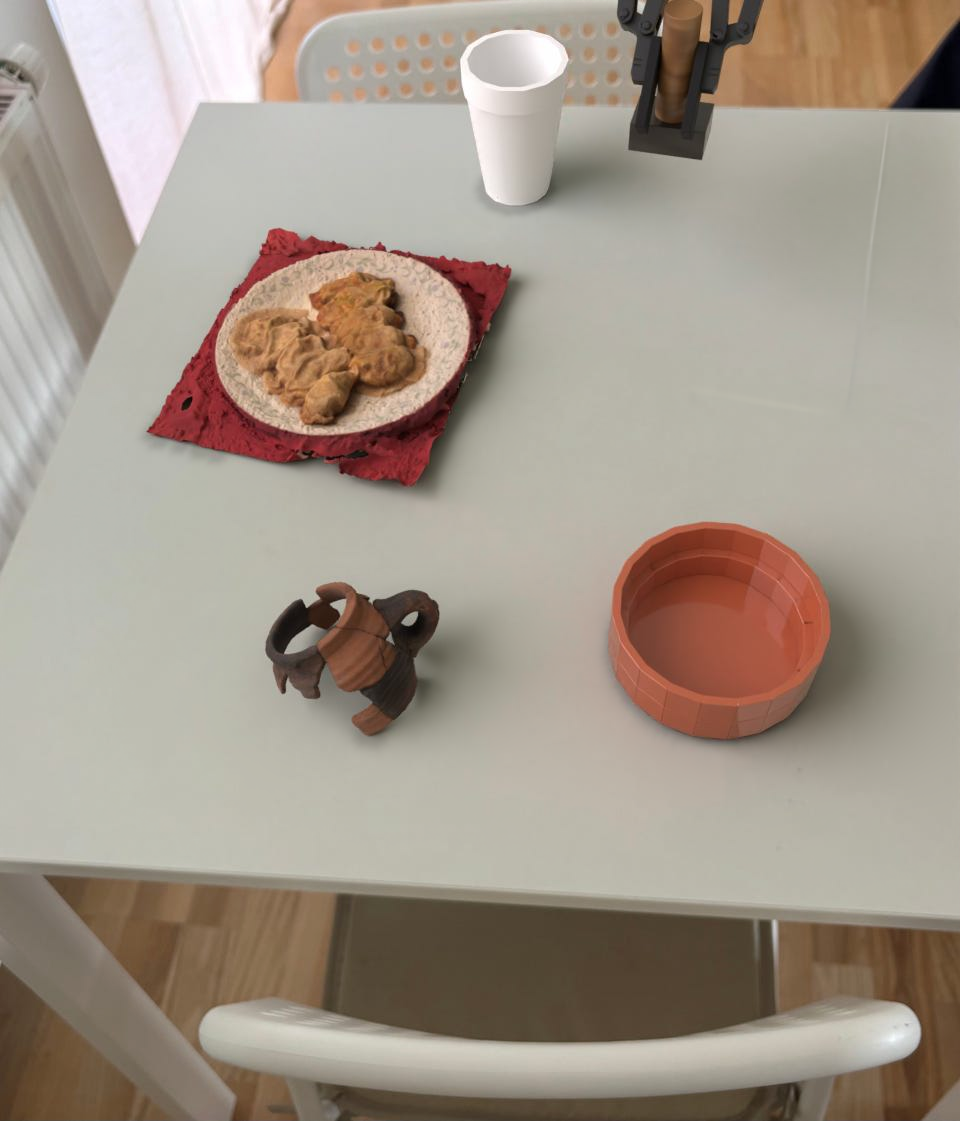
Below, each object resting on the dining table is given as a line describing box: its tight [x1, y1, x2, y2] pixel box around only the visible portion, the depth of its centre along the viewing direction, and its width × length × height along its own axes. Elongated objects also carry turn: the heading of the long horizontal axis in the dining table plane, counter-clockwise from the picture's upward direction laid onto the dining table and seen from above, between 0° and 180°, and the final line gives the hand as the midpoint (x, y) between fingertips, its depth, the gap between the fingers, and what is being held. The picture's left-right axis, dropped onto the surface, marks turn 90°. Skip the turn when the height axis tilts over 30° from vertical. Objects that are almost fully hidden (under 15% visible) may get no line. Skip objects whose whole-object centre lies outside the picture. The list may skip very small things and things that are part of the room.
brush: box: [627, 0, 715, 161], centre depth 85 cm, size 6×4×11 cm, turn 73°
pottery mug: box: [264, 581, 441, 736], centre depth 76 cm, size 12×10×8 cm
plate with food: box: [145, 227, 512, 487], centre depth 94 cm, size 24×26×4 cm
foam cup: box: [459, 29, 570, 207], centre depth 102 cm, size 10×9×13 cm
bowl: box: [607, 521, 832, 740], centre depth 75 cm, size 14×14×6 cm
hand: (663, 132), depth 85 cm, fingers closed on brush, 3 cm apart
